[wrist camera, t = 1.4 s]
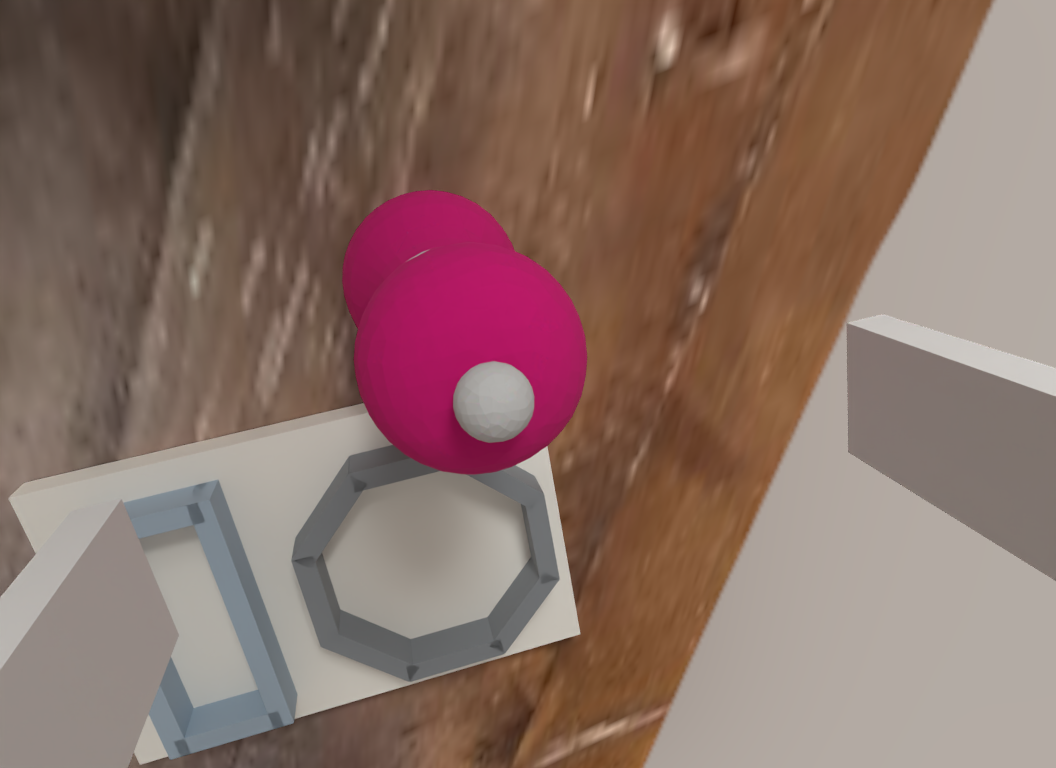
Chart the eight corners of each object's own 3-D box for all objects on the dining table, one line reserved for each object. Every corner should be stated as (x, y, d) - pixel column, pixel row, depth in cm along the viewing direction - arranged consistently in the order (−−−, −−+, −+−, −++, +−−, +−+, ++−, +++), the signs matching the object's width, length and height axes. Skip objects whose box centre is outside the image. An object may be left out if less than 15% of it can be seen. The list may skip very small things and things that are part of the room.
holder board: (23, 482, 32) (-15, 520, 29) (527, 364, 36) (544, 386, 32) (148, 742, 38) (128, 797, 35) (573, 617, 41) (591, 657, 38)
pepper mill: (476, 166, 32) (629, 193, 14) (516, 314, 35) (690, 505, 16) (322, 210, 31) (260, 302, 13) (374, 358, 34) (387, 613, 15)
